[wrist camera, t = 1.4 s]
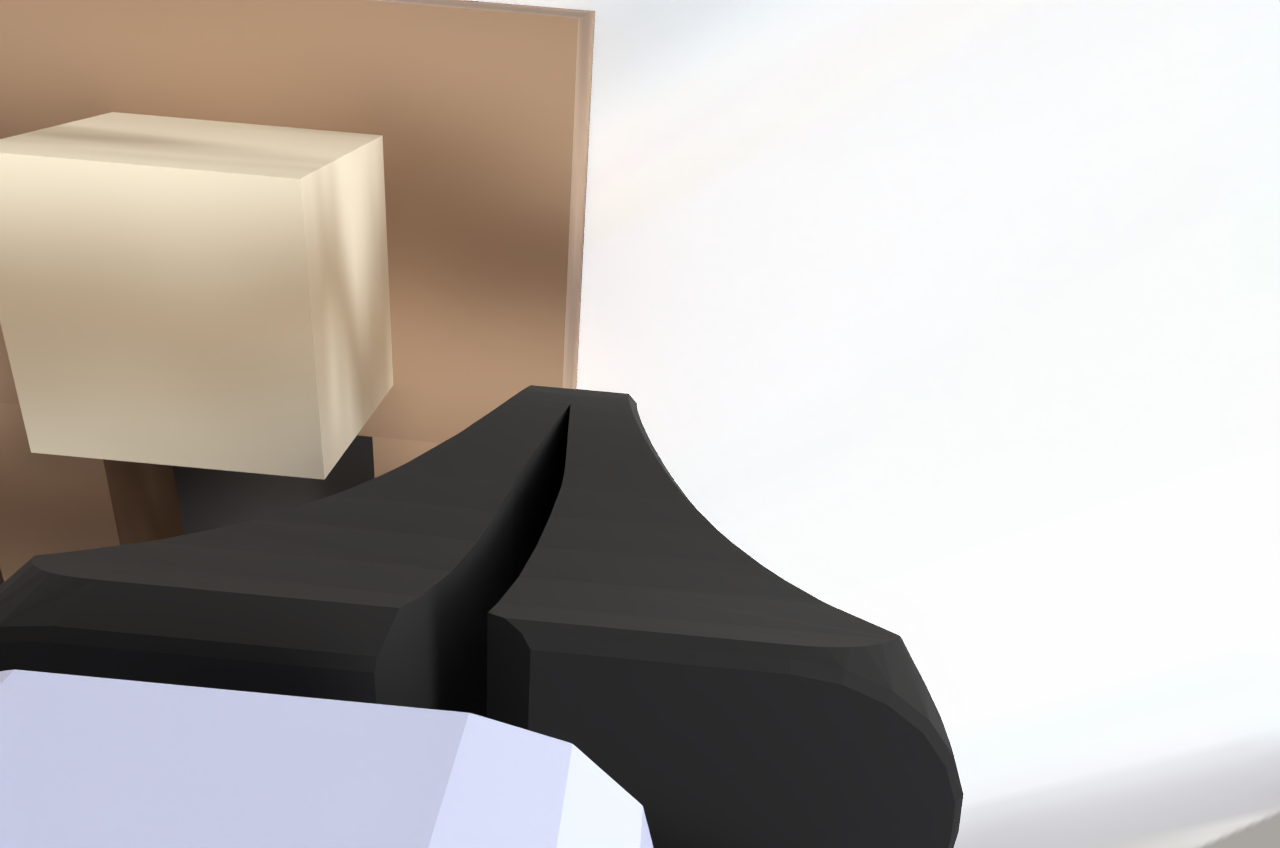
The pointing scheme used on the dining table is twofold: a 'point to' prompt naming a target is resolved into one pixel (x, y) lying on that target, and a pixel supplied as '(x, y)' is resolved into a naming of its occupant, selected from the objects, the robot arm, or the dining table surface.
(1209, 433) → the dining table surface
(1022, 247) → the dining table surface
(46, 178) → the maple block
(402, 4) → the board
